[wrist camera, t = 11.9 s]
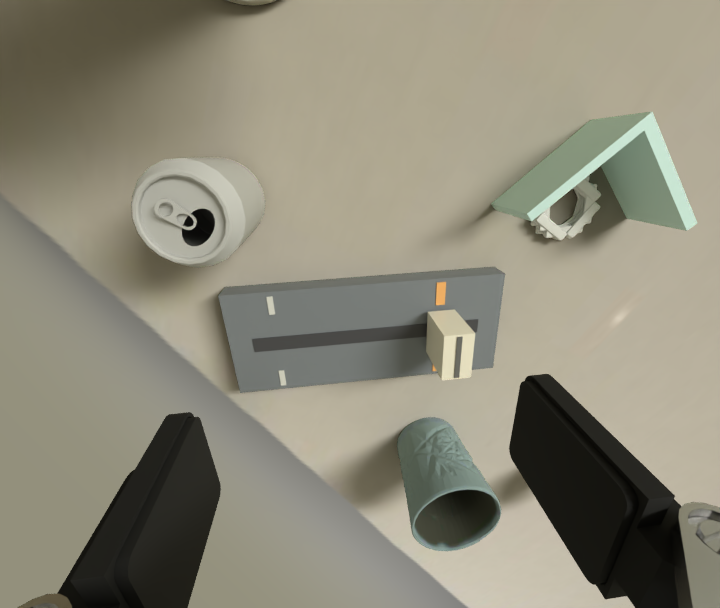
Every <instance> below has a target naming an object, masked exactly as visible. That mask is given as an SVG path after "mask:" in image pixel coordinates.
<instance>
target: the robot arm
mask: <svg viewBox="0 0 720 608" xmlns="http://www.w3.org/2000/svg"><path fill="white" fill-rule="evenodd" d="M226 1H230V2H233V3H237V4H241V5H262V4H267V3H272V2H274V1H276V0H226ZM509 450H510V455H511V458H512V460H513V462H514V463H515V465H516V467H517V468H518V470H519V472H520V473H521V475H522V476H523V478H524V480H525V481H526V483H527V484H528V486H529V488H530V489H531V491H532V492H533V494H534V496H535V497H536V499H537V500H538V502H539V504H540V505H541V507H542V508H543V510H544V512H545V513H546V515H547V516H548V518H549V520H550V521H551V523H552V524H553V526H554V528H555V529H556V531H557V532H558V534H559V536H560V537H561V539H562V541H563V542H564V544H565V545H566V547H567V549H568V550H569V552H570V553H571V555H572V557H573V558H574V560H575V561H576V563H577V565H578V566H579V568H580V569H581V571H582V573H583V574H584V576H585V577H586V579H587V580H588V581H589V582H590V583H592V584H596V586H597V587H598V589H599V590H600V592H601V593H602V595H603V596H604V598H605V599H610V598H616V597H622V596H628V598H629V599H630V601H631V602H632V604H633V605H634V606H635V608H720V508H719V507H717V506H713V505H710V504H706V503H698V502H691V503H687V504H684V505H683V506H681V505H680V504H678V503H677V502H676V501H675V500H674V497H675V495H673V494H672V493H671V492H670V491H669V490H668V489H667V488H666V487H665V486H664V485H663V484H662V483H661V482H660V481H659V480H658V479H657V478H656V477H655V476H654V475H653V474H652V473H651V472H650V471H649V470H648V469H647V468H646V467H645V466H644V465H643V464H642V463H640V462H639V461H638V460H637V459H636V458H635V457H634V456H633V455H632V454H631V453H630V452H629V451H628V450H627V449H626V448H625V447H624V446H623V445H622V444H621V443H620V442H619V441H618V440H617V439H616V438H615V437H614V436H613V435H612V434H611V433H610V432H609V431H608V430H606V429H605V428H604V427H603V426H602V425H601V424H600V423H599V422H598V421H597V420H596V419H595V418H594V417H593V416H592V415H591V414H590V413H589V412H588V411H587V410H586V409H585V408H584V407H583V406H582V405H581V404H580V403H579V402H578V401H577V400H576V399H575V398H574V397H572V396H571V395H570V394H569V393H568V392H567V391H566V390H565V389H564V388H563V387H562V386H561V385H560V384H559V383H558V382H557V381H556V380H555V379H554V378H553V377H552V376H550V375H549V374H542V375H532V376H527V378H526V379H525V381H524V382H522V383H521V385H520V390H519V396H518V401H517V407H516V413H515V418H514V424H513V430H512V435H511V441H510V447H509ZM219 497H220V482H219V478H218V475H217V472H216V469H215V465H214V462H213V459H212V456H211V452H210V449H209V446H208V443H207V439H206V436H205V433H204V430H203V426H202V423H201V420H200V418H199V417H194V416H193V414H192V413H190V412H188V413H179V414H169V415H168V416H166V418H165V419H164V421H163V423H162V424H161V426H160V428H159V429H158V431H157V433H156V435H155V436H154V438H153V440H152V442H151V443H150V445H149V447H148V448H147V450H146V452H145V453H144V455H143V457H142V459H141V460H140V462H139V464H138V466H137V467H136V469H135V470H133V471H132V472H131V473H130V474H129V475H128V476H127V478H126V479H125V481H124V482H123V484H122V486H121V487H120V489H119V491H118V492H117V494H116V496H115V498H114V499H113V501H112V503H111V504H110V506H109V508H108V509H107V511H106V513H105V515H104V516H103V518H102V520H101V521H100V523H99V524H98V526H97V528H96V529H95V531H94V533H93V534H92V537H91V538H90V540H89V541H88V543H87V545H86V546H85V548H84V550H83V551H82V553H81V555H80V556H79V558H78V560H77V561H76V563H75V565H74V566H73V568H72V570H71V571H70V573H69V575H68V576H67V578H66V580H65V582H64V583H63V585H62V587H61V588H60V590H59V592H58V593H57V594H46V595H43V596H40V597H37V598H34V599H32V600H30V601H28V602H26V603H25V604H23V605H21V606H19V607H18V608H187V607H188V604H189V600H190V597H191V594H192V590H193V587H194V583H195V580H196V576H197V573H198V570H199V566H200V563H201V559H202V556H203V552H204V549H205V546H206V542H207V539H208V535H209V531H210V528H211V525H212V521H213V518H214V515H215V511H216V508H217V504H218V501H219Z"/></svg>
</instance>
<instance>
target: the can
mask: <svg viewBox="0 0 720 608" xmlns="http://www.w3.org/2000/svg"><path fill="white" fill-rule="evenodd" d="M131 208H132V220H133V222H134V225H135V228H136V230H137V233H138V234H139V236H140V237H141V238H142V240H143V241H144V242H145V244H146V245H147V246H148V247H149V248H150V249H152V250H153V251H154V252H155V253H156V254H158V255H159V256H161V257H163V258H165V259H167V260H169V261H172V262H174V263H177V264H180V265H184V266H191V267H197V268H198V267H206V266H213V265H215V264H217V263H220V262H222V261H224V260H226V259H227V258H228V257H229V256H230V255H231V254H232V253H233V252H234V251H235V250H236V249H237V248H238V247H239V246H240V245H241V244H242V243H243V242H244V241H245V240H246V238H247V237H248V236H249V235H250V234H251V233H252V232H253V231H254V230H255V229H256V227H257V226H258V225H259V224H260V221H261V219H262V217H263V215H264V209H265V198H264V193H263V189H262V187H261V185H260V183H259V181H258V180H257V178H256V176H255V175H254V174H253V173H252V172H251V171H250V170H249V169H248V168H247V167H245V166H244V165H242V164H240V163H238V162H237V161H235V160H231V159H227V158H222V157H198V158H175V159H166V160H162V161H160V162H158V163H156V164H155V165H153V166H151V167H149V168H148V169H147V170H146V171H145V172H144V173H143V174H142V176H141V177H140V178H139V179H138V180H137V183H136V186H135V189H134V192H133V195H132V202H131Z"/></svg>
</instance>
